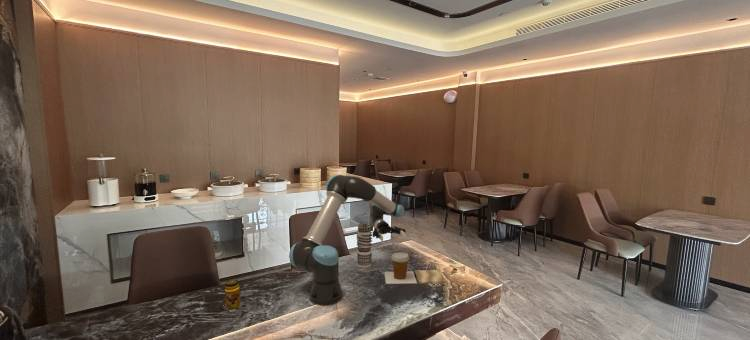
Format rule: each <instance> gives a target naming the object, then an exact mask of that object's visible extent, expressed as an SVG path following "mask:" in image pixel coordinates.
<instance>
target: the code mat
mask: <svg viewBox="0 0 750 340" xmlns="http://www.w3.org/2000/svg"><path fill="white" fill-rule="evenodd" d="M383 273H384V280H385V285H394V284H395V285H397V284H399V285H403V284H404V285H405V284H406V285H407V284H418V282H417V281H418V280H417V278H416V277H415V276H416V275H415V272H414V271H412V270H411V271H409V270H407V273H406V278H405V279H396V278H395V277H394V271H384V272H383Z"/></svg>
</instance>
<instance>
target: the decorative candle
mask: <svg viewBox="0 0 750 340" xmlns="http://www.w3.org/2000/svg"><path fill="white" fill-rule="evenodd" d="M371 227H372V224H371V223H369V222H366V221H365V222H363V221H361V222H360V223H359V224H358V225H357V233H356V246H357V256H356V257H357V259H356V260H357V261H356V262H357V266H358V267H359V268H369V267H371V266H372V263H373V261H372V255H373V253H372V245H373V244H372V239H373V231H372V229H371Z"/></svg>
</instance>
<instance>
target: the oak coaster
mask: <svg viewBox="0 0 750 340" xmlns="http://www.w3.org/2000/svg"><path fill="white" fill-rule="evenodd" d="M414 275H415V276H416V277H415V278H416V280H417V281H418V282H417V283H418V284H447V281H446V279H445V277H444V275H443V274H442V272H441V269H429V270H428V269H423V270H421V269H420V270H414Z"/></svg>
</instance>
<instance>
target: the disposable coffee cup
mask: <svg viewBox="0 0 750 340" xmlns="http://www.w3.org/2000/svg"><path fill="white" fill-rule="evenodd" d="M390 259H391V262H392V268H393V269H392V270H393V271H392V272H394V277H395V278H396V279H405V278H406V273H407V271H408V264H409V260H410V257H409V254H408V253H406V252H401V251H399V252H395V253H392V255H391V257H390Z"/></svg>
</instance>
